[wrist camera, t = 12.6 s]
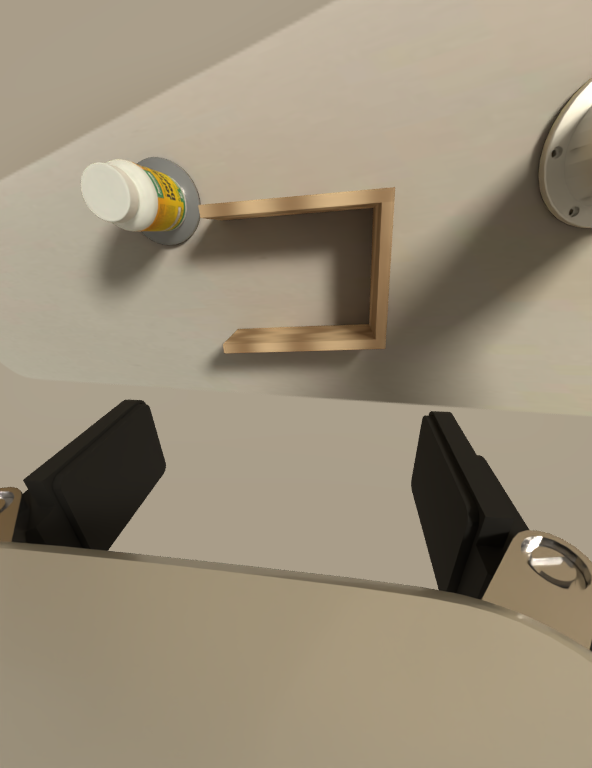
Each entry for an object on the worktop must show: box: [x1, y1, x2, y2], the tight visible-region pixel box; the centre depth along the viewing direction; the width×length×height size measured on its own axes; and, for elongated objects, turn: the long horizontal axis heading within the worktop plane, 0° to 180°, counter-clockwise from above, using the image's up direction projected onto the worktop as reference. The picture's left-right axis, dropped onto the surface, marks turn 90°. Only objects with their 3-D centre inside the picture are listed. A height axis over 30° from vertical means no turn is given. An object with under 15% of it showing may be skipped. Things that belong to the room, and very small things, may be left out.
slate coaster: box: [137, 157, 201, 245], centre depth 33 cm, size 8×8×1 cm
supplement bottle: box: [81, 159, 187, 231], centre depth 28 cm, size 5×5×10 cm
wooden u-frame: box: [198, 187, 395, 353], centre depth 32 cm, size 17×14×6 cm
